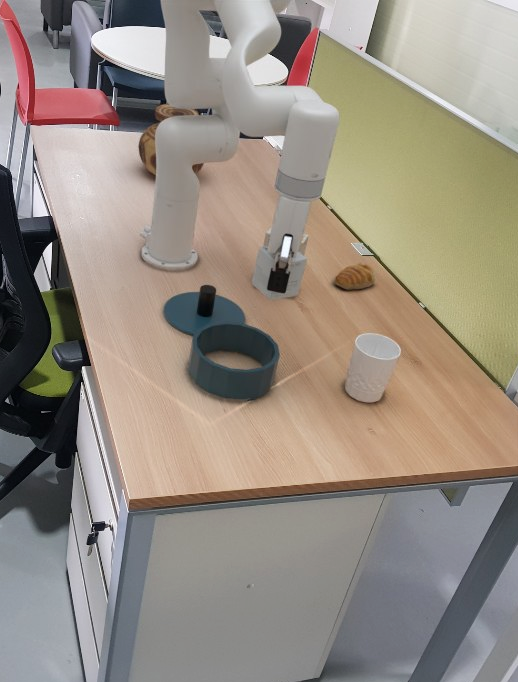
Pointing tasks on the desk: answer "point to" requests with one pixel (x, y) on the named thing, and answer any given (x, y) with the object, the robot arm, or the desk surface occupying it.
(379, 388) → the white cup
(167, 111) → the clay pot
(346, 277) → the pastry
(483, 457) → the desk surface
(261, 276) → the product box
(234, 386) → the pot
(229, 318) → the pot lid
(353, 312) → the desk surface
